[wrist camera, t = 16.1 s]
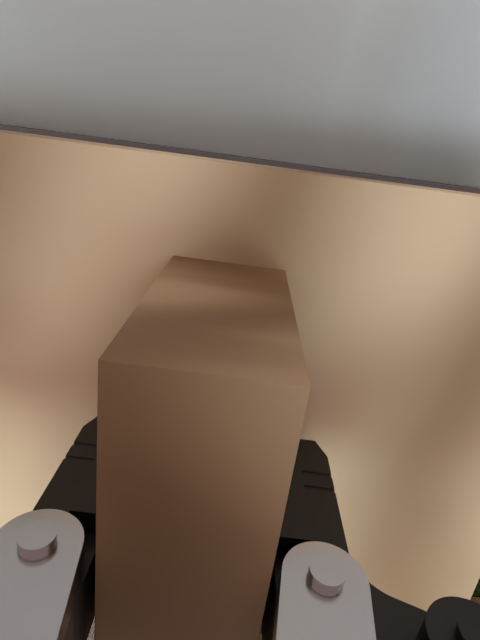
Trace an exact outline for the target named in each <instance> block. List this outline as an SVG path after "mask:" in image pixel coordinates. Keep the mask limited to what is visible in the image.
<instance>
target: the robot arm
mask: <svg viewBox="0 0 480 640" xmlns="http://www.w3.org/2000/svg"><path fill="white" fill-rule="evenodd" d="M96 479H97V417H95V418H94V419H93V420H91V421H90V422H88V423H87V424H86V425H84V426H83V428H82V429H81V431H80V433H79V434H78V436H77V437H76V439H75V441H74V444H73V445H72V446H71V447H70V449H69V451H68V452H67V454H66V457H65V459H63V461H62V462H61V464H60V466H59V467H58V469H57V471H56V472H55V474H54V476H53V477H52V479H51V481H50V482H49V484H48V486H47V487H46V489H45V491H44V492H43V494H42V496H41V497H40V499H39V501H38V502H37V504H36V505H35V507H34V509H33V510H32V511H30V512H27V513H24V514H22V515H19V516H17V517H16V518H14V519H12V520H10V521H9V522H7V523H6V524H5V525H4V526H2V527H1V528H0V640H87V637H88V634H89V632H90V629H91V626H92V623H93V620H94V617H95V557H96ZM259 634H262V640H480V604H478V603H476V602H474V601H471V600H468V599H465V598H461V597H454V596H449V597H442V598H439V599H437V600H436V601H434V602H433V603H432V604H431V605H430V606H429V608H428V610H427V611H424V610H422V609H420V608H417V607H415V606H413V605H410V604H408V603H405V602H403V601H401V600H398V599H396V598H394V597H392V596H389V595H387V594H385V593H384V592H382V591H380V590H379V589H377V588H376V587H375V586H373V585H372V584H371V583H370V582H369V581H368V578H367V576H366V573H365V572H364V570H363V568H362V567H361V565H360V564H359V563H358V562H357V561H356V560H355V559H354V558H353V557H352V556H351V555H350V554H349V551H348V547H347V543H346V538H345V534H344V529H343V525H342V520H341V516H340V511H339V507H338V502H337V498H336V493H334V484H333V480H332V478H331V471H330V466H329V462H328V457H327V456H326V454H325V453H324V452H323V450H322V449H321V448H320V447H319V445H318V444H317V443H316V441H313V440H305V439H300V441H299V446H298V450H297V455H296V460H295V465H294V470H293V475H292V479H291V484H290V489H289V494H288V499H287V503H286V508H285V513H284V518H283V523H282V527H281V532H280V537H279V542H278V547H277V551H276V556H275V561H274V566H273V571H272V575H271V580H270V585H269V590H268V595H267V599H266V604H265V609H264V614H263V619H262V623H261V628H260V633H259Z"/></svg>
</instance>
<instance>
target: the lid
mask: <svg viewBox="0 0 480 640" xmlns="http://www.w3.org/2000/svg"><path fill="white" fill-rule="evenodd" d="M95 417H97V479H96V557H95V635H94V640H258V638H259V633H260V628H261V623H262V619H263V614H264V609H265V604H266V599H267V595H268V590H269V585H270V580H271V575H272V571H273V566H274V561H275V556H276V551H277V547H278V542H279V537H280V532H281V527H282V523H283V518H284V513H285V508H286V503H287V499H288V494H289V489H290V484H291V479H292V475H293V470H294V465H295V460H296V455H297V450H298V446H299V441H300V439H305V440H313V441H316V443H317V444H318V445H319V447H320V448H321V449H322V450H323V452H324V453H325V454H326V456H327V457H328V462H329V466H330V471H331V478H332V480H333V484H334V493H336V498H337V502H338V507H339V511H340V516H341V520H342V525H343V529H344V534H345V538H346V543H347V547H348V551H349V554H350V555H351V556H352V557H353V558H354V559H355V560H356V561H357V562H358V563H359V564H360V565H361V567H362V568H363V570H364V572H365V573H366V576H367V578H368V581H369V582H370V583H371V584H372V585H373V586H375V587H376V588H377V589H379V590H380V591H382V592H384V593H385V594H387V595H389V596H392V597H394V598H396V599H398V600H401V601H403V602H405V603H408V604H410V605H413V606H415V607H417V608H420V609H422V610H424V611H427V610H428V608H429V606H430V605H431V604H432V603H433V602H434V601H436V600H437V599H439V598H442V597H449V596H454V597H461V598H465V599H468V600H470V599H471V596H472V594H473V592H474V590H475V587H476V585H477V583H478V580H479V578H480V194H477V193H469V192H462V191H454V190H447V189H439V188H432V187H424V186H417V185H410V184H402V183H395V182H387V181H380V180H372V179H365V178H357V177H350V176H342V175H335V174H328V173H320V172H313V171H305V170H298V169H290V168H283V167H275V166H268V165H261V164H253V163H246V162H238V161H231V160H223V159H216V158H208V157H201V156H194V155H186V154H179V153H171V152H164V151H156V150H149V149H141V148H134V147H126V146H119V145H112V144H104V143H97V142H89V141H82V140H74V139H67V138H59V137H52V136H45V135H37V134H30V133H22V132H15V131H7V130H0V528H1V527H2V526H4V525H5V524H6V523H7V522H9V521H10V520H12V519H14V518H16V517H17V516H19V515H22V514H24V513H27V512H30V511H32V510H33V509H34V507H35V505H36V504H37V502H38V501H39V499H40V497H41V496H42V494H43V492H44V491H45V489H46V487H47V486H48V484H49V482H50V481H51V479H52V477H53V476H54V474H55V472H56V471H57V469H58V467H59V466H60V464H61V462H62V461H63V459H65V457H66V454H67V452H68V451H69V449H70V447H71V446H72V445H73V444H74V441H75V439H76V437H77V436H78V434H79V433H80V431H81V429H82V428H83V426H84V425H86V424H87V423H88V422H90V421H91V420H93V419H94V418H95Z"/></svg>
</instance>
